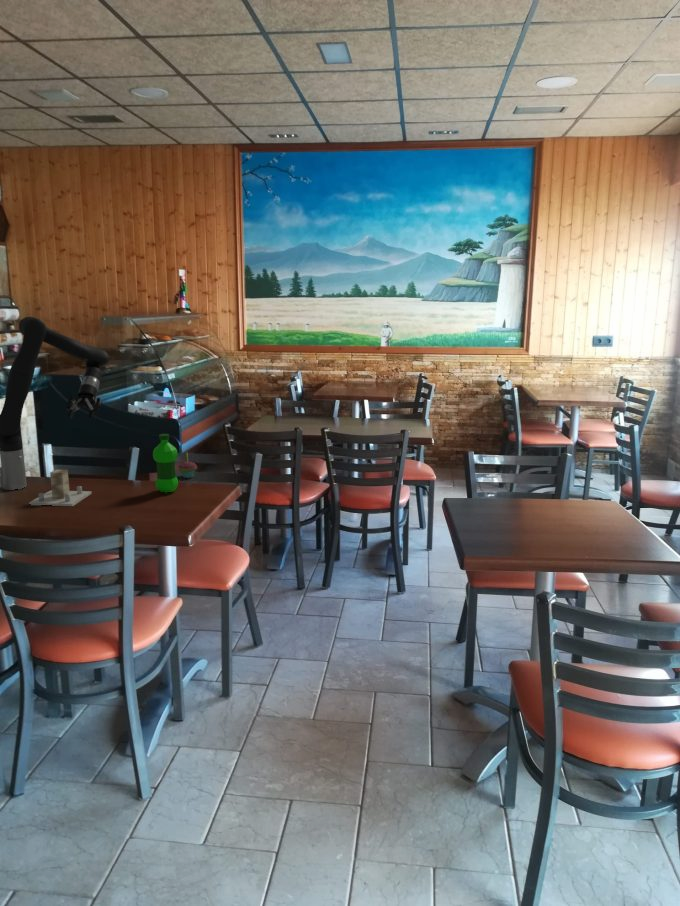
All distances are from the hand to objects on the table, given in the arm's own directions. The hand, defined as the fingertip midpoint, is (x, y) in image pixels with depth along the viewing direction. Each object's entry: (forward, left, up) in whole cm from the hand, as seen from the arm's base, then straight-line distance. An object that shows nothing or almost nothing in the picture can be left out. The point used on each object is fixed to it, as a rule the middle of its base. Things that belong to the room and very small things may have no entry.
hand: (79, 418), depth 293 cm
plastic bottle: (+38, -4, -31) cm, 49 cm away
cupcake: (+40, +21, -31) cm, 55 cm away
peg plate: (-2, -19, -31) cm, 36 cm away
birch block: (-2, -19, -30) cm, 35 cm away
